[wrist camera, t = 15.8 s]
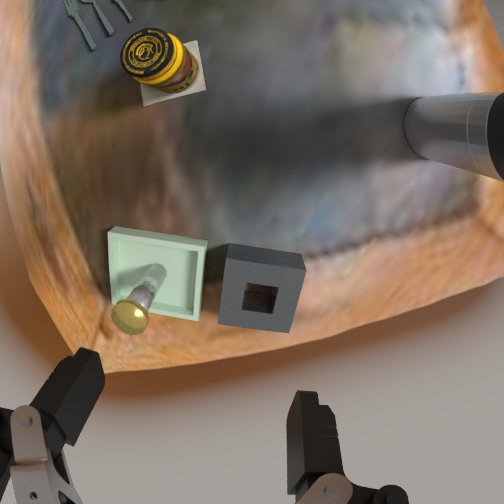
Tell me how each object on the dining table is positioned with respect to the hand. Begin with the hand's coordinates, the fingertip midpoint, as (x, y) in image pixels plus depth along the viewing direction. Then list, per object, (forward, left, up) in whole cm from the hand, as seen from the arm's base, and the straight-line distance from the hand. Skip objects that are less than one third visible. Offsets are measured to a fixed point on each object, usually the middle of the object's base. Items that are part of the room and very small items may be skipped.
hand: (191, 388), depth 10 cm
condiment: (+11, -16, -31) cm, 36 cm away
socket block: (-5, +11, -30) cm, 33 cm away
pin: (+10, +12, -30) cm, 34 cm away
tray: (+10, +12, -30) cm, 34 cm away
